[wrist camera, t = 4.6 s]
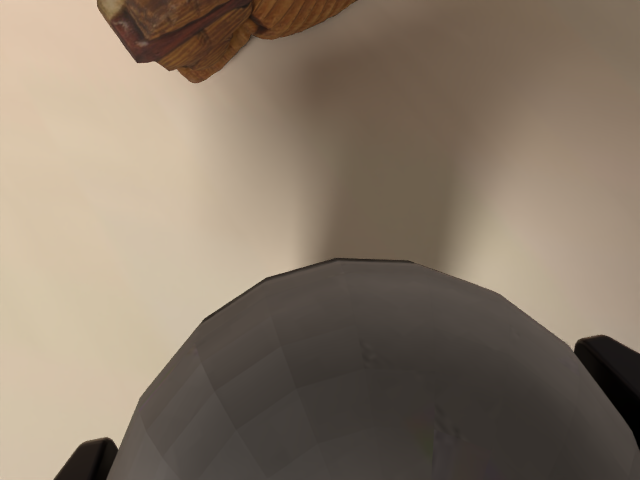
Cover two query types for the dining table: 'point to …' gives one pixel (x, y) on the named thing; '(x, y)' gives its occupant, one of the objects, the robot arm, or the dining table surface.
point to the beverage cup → (374, 388)
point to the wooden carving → (207, 28)
